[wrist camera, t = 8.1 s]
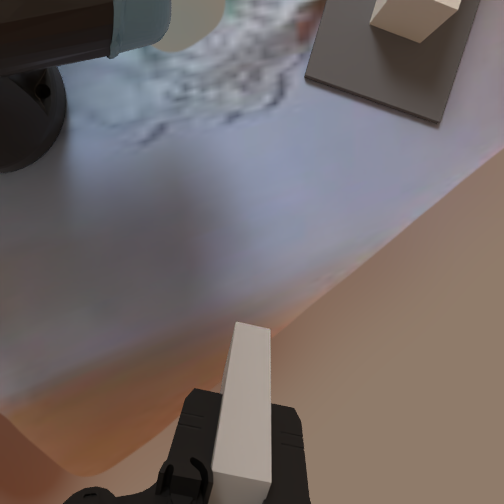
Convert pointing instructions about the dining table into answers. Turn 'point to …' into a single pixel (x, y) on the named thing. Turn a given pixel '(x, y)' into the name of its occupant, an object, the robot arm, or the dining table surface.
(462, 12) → the charcoal mat
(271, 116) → the dining table surface
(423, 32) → the cream block
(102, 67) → the dining table surface
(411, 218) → the dining table surface
